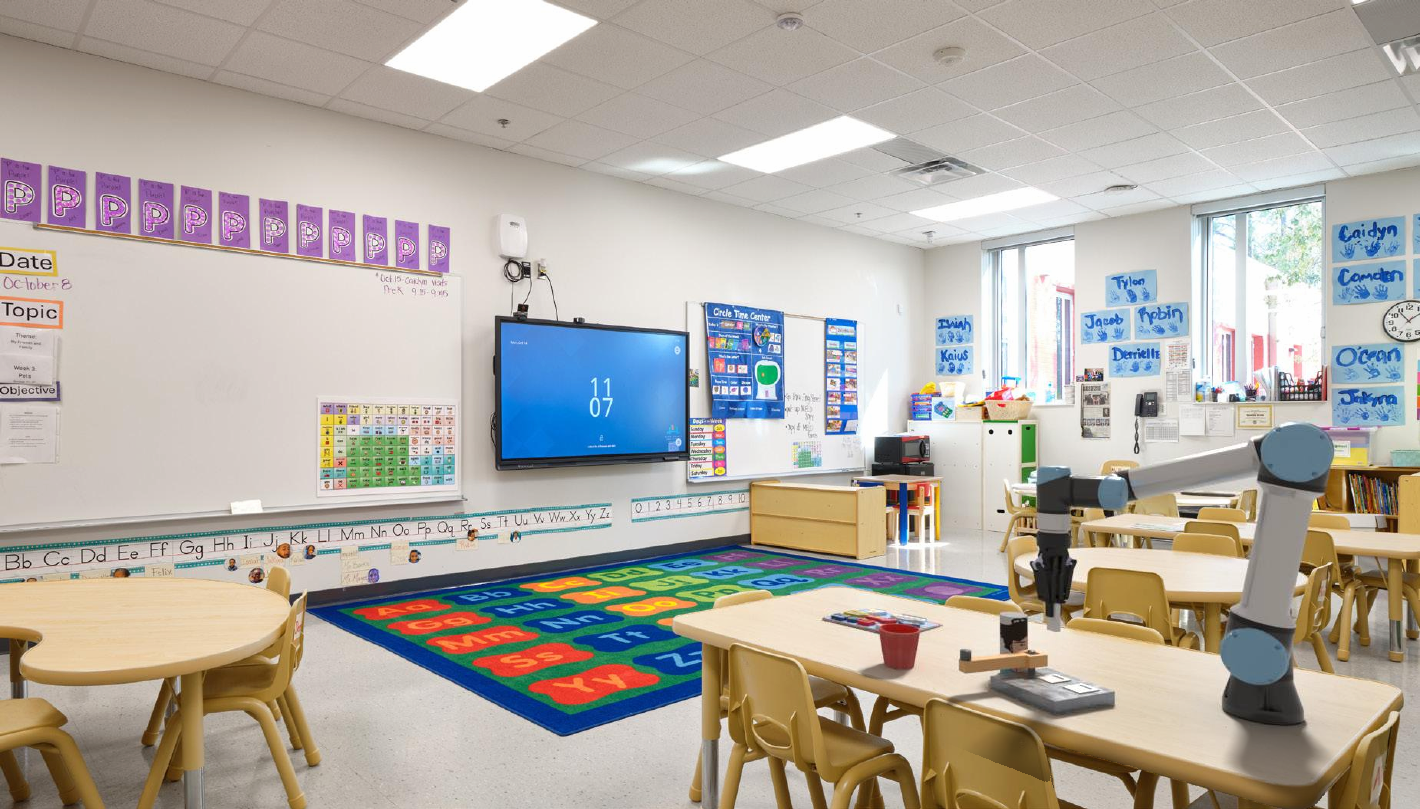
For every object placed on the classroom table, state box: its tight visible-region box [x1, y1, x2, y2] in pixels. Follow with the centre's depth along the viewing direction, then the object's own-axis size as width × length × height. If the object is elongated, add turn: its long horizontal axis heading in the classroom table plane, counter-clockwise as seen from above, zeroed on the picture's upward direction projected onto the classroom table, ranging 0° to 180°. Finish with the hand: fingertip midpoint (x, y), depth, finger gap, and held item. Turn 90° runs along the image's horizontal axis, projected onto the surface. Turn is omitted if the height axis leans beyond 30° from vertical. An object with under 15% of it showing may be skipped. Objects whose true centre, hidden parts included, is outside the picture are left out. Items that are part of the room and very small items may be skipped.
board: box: [989, 649, 1116, 716], centre depth 196 cm, size 20×18×8 cm
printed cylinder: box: [999, 611, 1029, 675], centre depth 213 cm, size 7×7×15 cm
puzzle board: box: [821, 608, 944, 634], centre depth 268 cm, size 30×23×3 cm
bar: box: [958, 648, 1049, 675], centre depth 202 cm, size 23×5×5 cm, turn 109°
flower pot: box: [878, 624, 921, 670], centre depth 221 cm, size 11×11×10 cm
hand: (1053, 630), depth 199 cm, fingers closed
